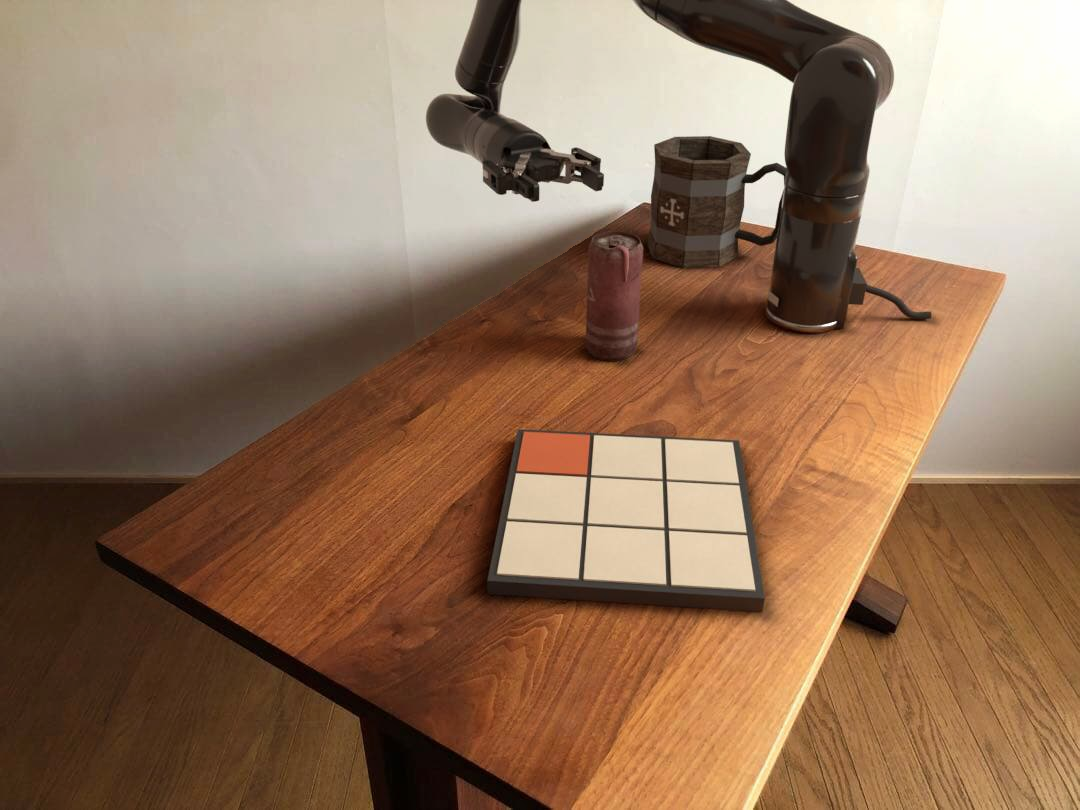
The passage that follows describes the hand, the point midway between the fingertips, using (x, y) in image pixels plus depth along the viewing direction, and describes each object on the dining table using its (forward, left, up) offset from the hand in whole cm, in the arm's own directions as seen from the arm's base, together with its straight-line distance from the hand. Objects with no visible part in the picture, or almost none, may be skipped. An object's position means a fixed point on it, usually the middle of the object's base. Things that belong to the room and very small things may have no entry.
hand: (569, 188), depth 108 cm
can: (-6, +9, -17) cm, 20 cm away
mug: (-20, -22, -17) cm, 34 cm away
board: (-8, +40, -16) cm, 44 cm away
